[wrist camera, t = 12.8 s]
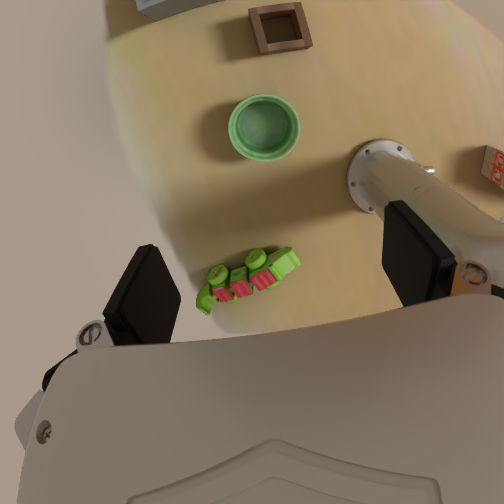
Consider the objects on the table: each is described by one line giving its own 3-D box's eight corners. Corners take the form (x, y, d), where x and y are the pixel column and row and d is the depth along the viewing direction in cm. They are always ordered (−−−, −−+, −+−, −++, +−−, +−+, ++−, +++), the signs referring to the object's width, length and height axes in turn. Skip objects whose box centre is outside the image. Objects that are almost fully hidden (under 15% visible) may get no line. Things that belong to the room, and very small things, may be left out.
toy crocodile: (288, 233, 45) (293, 254, 40) (303, 262, 49) (309, 284, 44) (189, 276, 50) (183, 299, 45) (209, 300, 54) (205, 323, 49)
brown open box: (295, 9, 25) (300, 2, 22) (306, 49, 29) (312, 45, 26) (248, 16, 26) (248, 8, 23) (259, 56, 30) (260, 52, 26)
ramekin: (307, 133, 36) (313, 138, 32) (254, 166, 39) (255, 175, 35) (271, 81, 32) (274, 80, 28) (217, 117, 35) (213, 121, 31)
